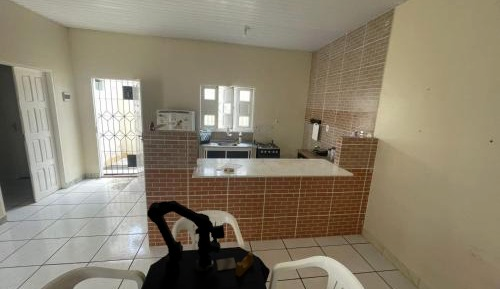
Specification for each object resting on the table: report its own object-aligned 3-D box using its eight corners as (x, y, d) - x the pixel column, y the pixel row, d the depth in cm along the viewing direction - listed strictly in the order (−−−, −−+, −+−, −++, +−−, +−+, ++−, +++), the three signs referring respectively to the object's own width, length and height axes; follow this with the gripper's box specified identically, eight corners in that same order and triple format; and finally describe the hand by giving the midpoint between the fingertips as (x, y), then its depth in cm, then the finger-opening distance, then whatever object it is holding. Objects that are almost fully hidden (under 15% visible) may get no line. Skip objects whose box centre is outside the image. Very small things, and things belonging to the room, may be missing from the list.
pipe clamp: (246, 261, 123) (247, 250, 122) (252, 264, 120) (253, 253, 119) (233, 273, 113) (233, 262, 112) (239, 277, 110) (240, 266, 109)
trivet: (217, 271, 114) (218, 270, 114) (216, 260, 121) (216, 260, 121) (236, 268, 116) (236, 267, 116) (233, 258, 124) (233, 257, 124)
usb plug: (195, 271, 113) (195, 265, 112) (195, 266, 116) (195, 259, 116) (213, 269, 115) (213, 262, 114) (212, 264, 119) (212, 257, 118)
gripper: (222, 248, 106) (221, 276, 109) (217, 228, 124) (216, 253, 126) (199, 251, 103) (198, 280, 106) (197, 230, 121) (197, 255, 123)
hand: (204, 266), depth 115 cm, fingers open, 4 cm apart
